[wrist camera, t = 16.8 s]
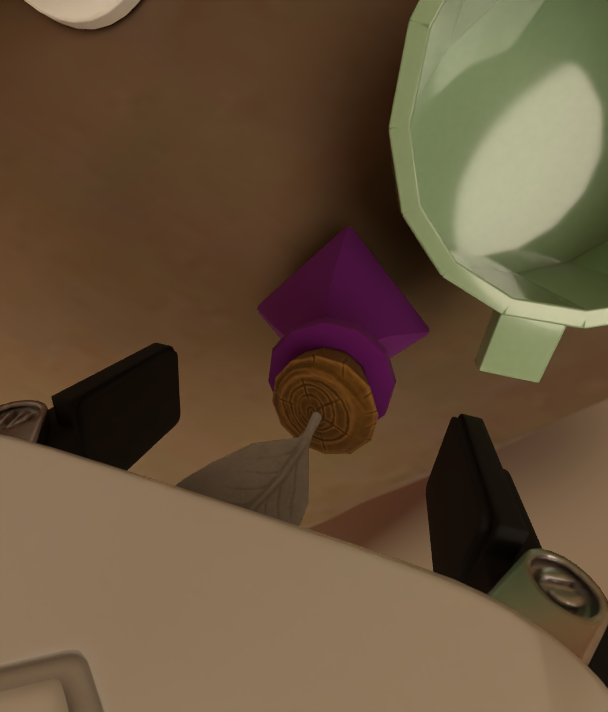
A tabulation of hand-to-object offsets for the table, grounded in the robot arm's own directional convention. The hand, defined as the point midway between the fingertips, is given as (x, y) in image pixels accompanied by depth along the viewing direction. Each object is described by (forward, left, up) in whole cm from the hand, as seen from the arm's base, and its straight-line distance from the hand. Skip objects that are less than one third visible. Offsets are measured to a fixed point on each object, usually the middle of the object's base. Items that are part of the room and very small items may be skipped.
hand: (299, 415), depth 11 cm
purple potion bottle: (0, 0, -13) cm, 13 cm away
